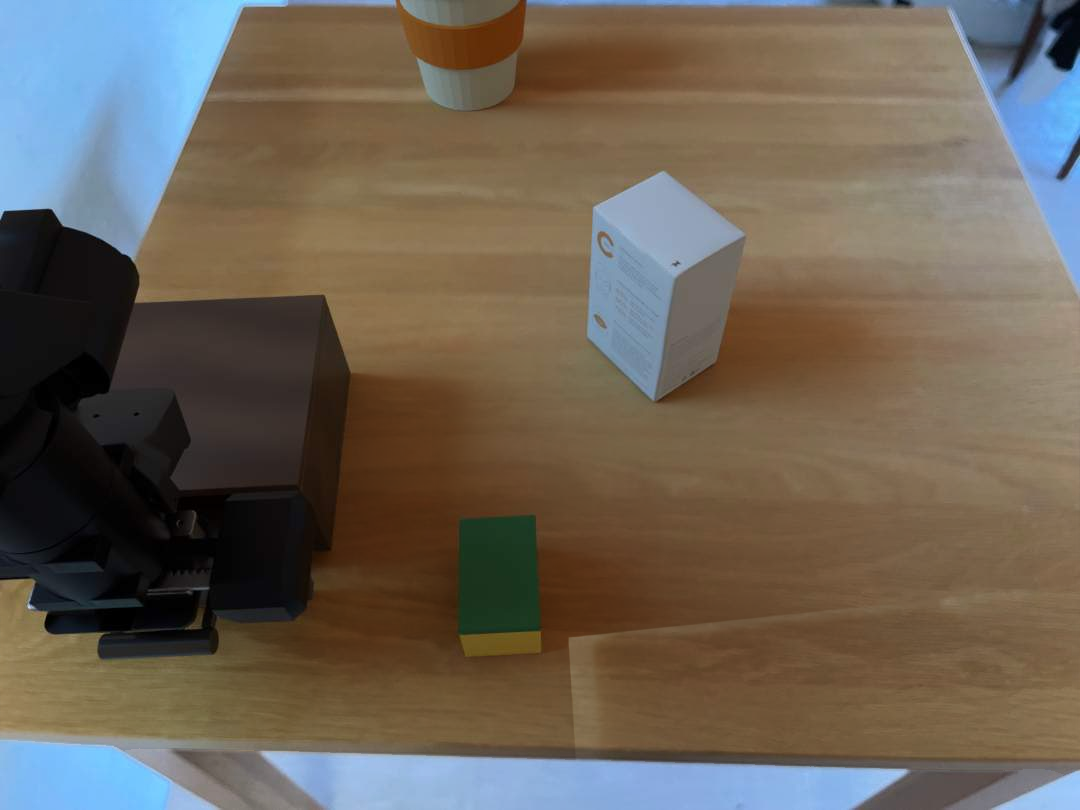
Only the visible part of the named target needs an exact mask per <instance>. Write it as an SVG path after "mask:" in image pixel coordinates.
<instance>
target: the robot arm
mask: <svg viewBox="0 0 1080 810" xmlns="http://www.w3.org/2000/svg"><path fill="white" fill-rule="evenodd" d="M139 289H140V273H139V271H138V268H137V265H136V263H135V262H134V261H133V260H132V257H130V256H129V255H128V254H125V253H122V252H121V251H120V250H119V249H118V248H116V247H115V246H114V245H112V244H110V243H109V242H107V241H106V240H104V239H102V238H101V237H98V236H95V235H93V234H91V233H88V232H86V231H83V230H80V229H76V228H73V227H69V226H64V225H63V224H62V222H61V220H60V219H59V218H58V216H57V215H56V213H55V212H54V210H53V209H52V208H33V209H32V208H31V209H13V210H12V209H11V210H4V211H3V212H2V214H1V216H0V581H18V580H19V581H20V580H33V581H34V584H32V587H31V591H30V593H29V596H28V599H27V603H26V607H27V608H28V610H30V611H32V612H45V613H46V615H45V620H44V623H43V628H44V629H45V631H46V632H47V633H48V634H51V635H53V636H54V635H55V636H59V635H82V634H83V635H85V634H86V635H87V634H105V633H113V632H141V631H162V630H182V629H187V628H189V627H190V626H192V625H193V624H194V623H195V621H196V619H197V616H198V610H199V607H200V606H199V601H200V596H201V591H202V590H210V599H211V607H212V611H213V612H214V613H215V614H216V615H217V618H218V619H220V620H225V621H230V622H233V623H238V624H257V623H276V622H279V623H280V622H294V621H295V620H297V618H299V617H300V616H301V615H302V614H304V612H305V611H307V608H308V602H309V601H308V593H309V585H310V576H311V577H312V568H313V558H314V543H315V534H316V526H317V517H318V516H317V514H316V512H315V510H314V508H313V506H312V504H311V502H310V501H309V500H308V499H307V498H306V497H305V496H304V495H303V494H302V493H301V492H300V491H299V490H297V491H275V492H253V493H234V494H232V495H231V496H230V497H229V498H228V499H226V500H225V502H224V507H223V513H222V518H221V523H220V528H219V534H218V537H215V538H212V532H211V525H210V522H209V521H208V520H207V519H206V518H203V517H198V515H197V514H196V513H195V511H192V510H186V511H176V510H177V505H178V501H179V497H180V492H181V491H180V490H179V489H178V487H177V486H176V485H175V483H174V482H173V481H172V480H171V478H170V477H171V475H172V474H173V472H174V470H175V468H176V466H177V464H178V462H179V460H180V458H181V456H182V454H183V452H184V450H185V449H187V448H188V447H189V445H190V442H191V438H190V435H189V432H188V429H187V426H186V423H185V420H184V418H183V415H182V412H181V409H180V406H179V403H178V400H177V398H176V395H175V392H174V391H173V390H172V389H170V388H167V387H150V388H127V389H110V386H111V382H112V379H113V375H114V372H115V368H116V365H117V361H118V358H119V354H120V351H121V348H122V344H123V341H124V337H125V334H126V330H127V327H128V323H129V320H130V316H131V313H132V309H133V306H134V303H136V299H137V296H138V292H139ZM207 571H208V572H207Z"/></svg>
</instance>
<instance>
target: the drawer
mask: <svg viewBox="0 0 1080 810" xmlns="http://www.w3.org/2000/svg"><path fill="white" fill-rule="evenodd" d="M230 496H231V495H213V496H191V497H179V501H178V505H177V510H176V511H186V510H192V511H195V513H196V514H197V515H198V517H203V518H206V519H207V520H208V521H209V522H210V525H211V532H212V538H215V537H218V534H219V528H220V523H221V518H222V513H223V507H224V502H225V500H226V499H228V498H229V497H230ZM207 572H208V571H207ZM314 588H315V581H314V580H313V579H312V575H311V576H310V585H309V593H308V602H309V601H313V597H314V590H315V589H314ZM203 606H204V609H203V615H202V621H201V626H200V628H188V629H187V628H186V629H182V630H161V631H134V632H113V633H102V634H101V635H100V637H99V639H98V641H97V646H96V647H97V648H96V650H97V656H98V658H99V659H100V660H102V661H108V660H109V661H114V660H133V659H136V660H137V659H152V658H153V659H155V658H175V657H195V656H213V655H216V653H217V652H218V649H219V645H220V634H219V631H218V629H217V628H216V626H217V620H218V616H217V615H216V614H215V613H214V612H213V611H212V607H211V599H210V590H202V591H201V596H200V601H199V606H198V607H203Z"/></svg>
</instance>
